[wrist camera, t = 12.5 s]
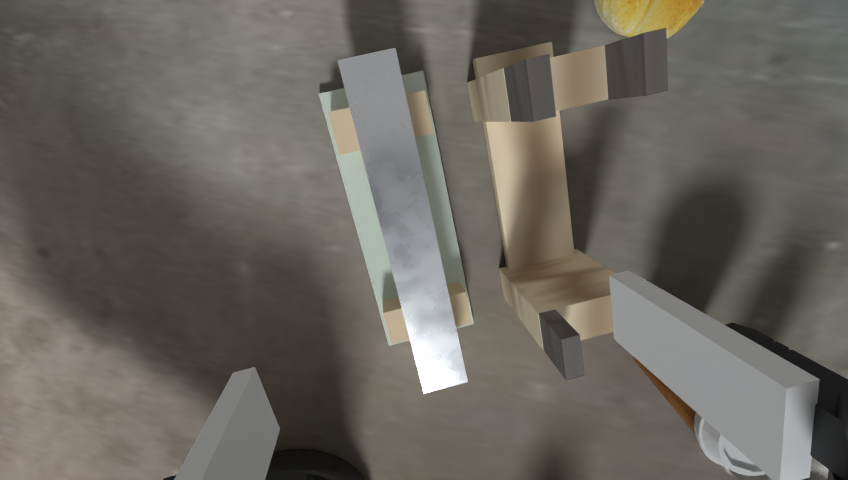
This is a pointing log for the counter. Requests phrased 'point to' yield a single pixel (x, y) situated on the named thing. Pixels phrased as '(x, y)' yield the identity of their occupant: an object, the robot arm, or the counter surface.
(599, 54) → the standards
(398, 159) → the rail
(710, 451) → the disposable coffee cup
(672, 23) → the bread roll
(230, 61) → the counter surface
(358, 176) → the rest pad
